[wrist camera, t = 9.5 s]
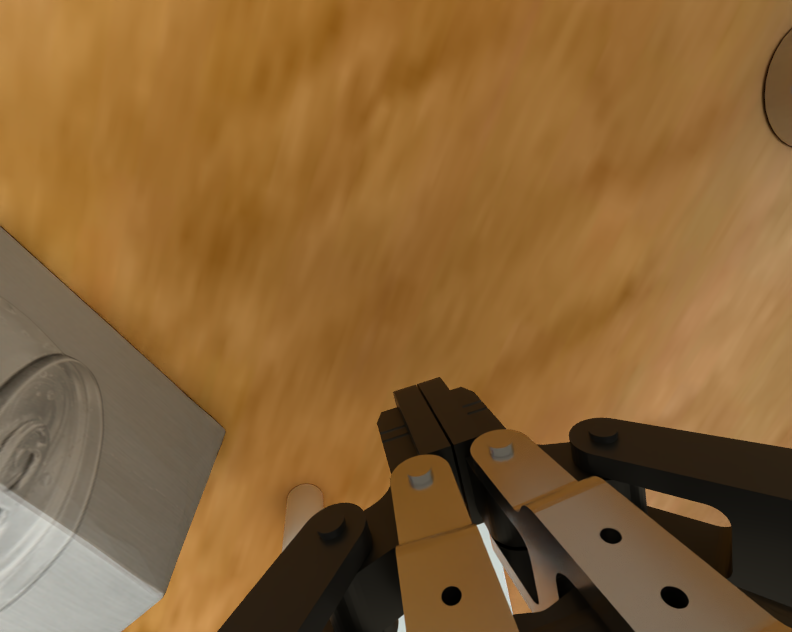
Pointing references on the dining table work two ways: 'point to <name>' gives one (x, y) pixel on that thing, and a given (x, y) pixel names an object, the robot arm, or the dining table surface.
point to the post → (300, 509)
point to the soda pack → (87, 461)
